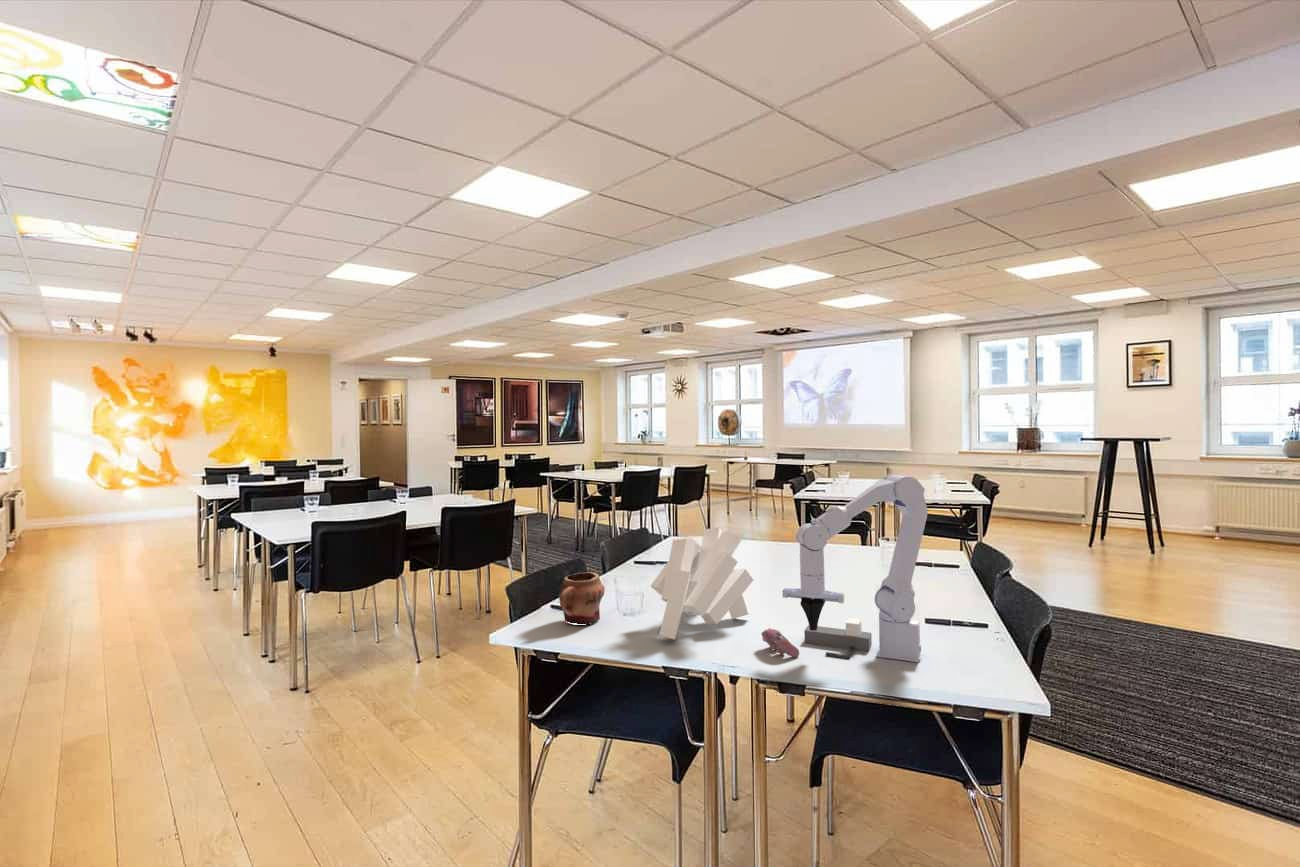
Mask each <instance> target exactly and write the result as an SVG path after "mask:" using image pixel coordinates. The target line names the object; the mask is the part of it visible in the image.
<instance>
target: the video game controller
mask: <svg viewBox="0 0 1300 867" xmlns="http://www.w3.org/2000/svg"><path fill="white" fill-rule="evenodd" d="M761 637H762V638H761V639H762V641H763V642H765V643H766V644H768V646H769V647H770V649H771V648H772V649H774V650H776V652H777V653H778V654H779V653H780V654H781V655H782V656H783V655H784V654H786V655H787V656H789V657H791V656H792V658H798V657H799V656H800V651H799V648H798V647H796V646H795V645H794V644H792V642H790V641H789V639H787V637H786V636H784V634H782V632H780V630H778V629H774V628H772V629H771V628H770V627H768V629H765V630H763V631H762V632H761ZM772 649H771V650H772ZM780 654H779V655H780ZM781 655H780V656H781ZM797 656H798V657H797Z"/></svg>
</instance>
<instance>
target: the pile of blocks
mask: <svg viewBox="0 0 1300 867" xmlns="http://www.w3.org/2000/svg"><path fill="white" fill-rule="evenodd" d="M741 540H742V539H740V538H739V537H738V536H737V535H736V534H735V533H733V532H732V531H724V532H723V531H722V529H721V528H720V527H713V528H706V529H703V534H702V540H701V546H700V545H699V543H698V542H697V541H695V539H693V538H690V537H689V538H679V539H673V540H672V543H671V549H670V554H669V558H668V560H667V562H666V564H665V565H664V566H663V567H662V569H661V570H660V572H659V573H658V575H657V576H656V578H655V579H654V580H653V581H652V583H651V585H650V587H651V588H652V589H653V590H654V591H656V593H658V595H660V596H661V598H660V599H661V600H662V601H663V602H666V604H665V605H666V606H665V609H664V613H663V614H664V615H663V617H662V618H663V619H662V623H661V625H660V630H659V633H658V634H659V636H661V637H664V638H667V639H672V640H676V639H675V638H677V635H678V630H679V627H680V626H679V625H680V621H681V617H682V614H685V615H686V616H688V617H689V616H690V617H693V616H701V618H702V619H703V621H704V622H705V623H706V624H709V625H718V624H719V622H721V620H722V619H723V618H724V617H725V615H727V613H728V612H729V614H730V618H731V620H734V619H738V618H740V617H744V616H747V615H750V614H751V611H750V608H749V604H748V602H747V598H746V595H745V593H744V592H745V591H746V590H747V589H748V587H749V586H750V585H751V584H752V583H753V581H754V579H753V577H752V576H751V575H750V573H749V572H748V570H747V569H746V568H743V569H742V568H736V566H737V564H738V560H736V559H735V558H734V557H733V554H734V553H735V551H736V549H737V548H738V546H739V545H740V543H741V542H742V541H741Z"/></svg>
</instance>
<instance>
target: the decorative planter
mask: <svg viewBox="0 0 1300 867" xmlns="http://www.w3.org/2000/svg"><path fill="white" fill-rule="evenodd" d="M604 595H605V585H604V583H603V582H602V581H601V578H600V575H599V574H598V573H596V572H591V571H589V572H577V573H574V574H569V575H566V576H565V577H564V579H563V582H562V585H561V587H560V590H559V595H558V598H559V606H560V608H561V610H562V612H563V617H564V621H565V622H566V621H567V622H570V623H577V624H590V623H593V622H595V623H597V622H598V621H599V620H601V616H600V615H601V613H600V604H601V601H602V599H603V598H604ZM596 621H597V622H596ZM593 624H594V623H593ZM590 625H591V624H590Z"/></svg>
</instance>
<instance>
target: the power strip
mask: <svg viewBox="0 0 1300 867" xmlns="http://www.w3.org/2000/svg"><path fill="white" fill-rule="evenodd" d="M803 633H804V643H805V642H808V643H807V644H810V643H815V644H814V645H817V644H821V645H820V646H825V645H828V647H832V646H835V648H840V647H842V649H847V648H849V650H848V652H847V654H842V653H834V652H825V655H826V656H827V657H833V656H834V658H841V659H846V660H847V659H848V658H849V659H850V658H851V656H852V653H853V651H854V649H856V651H862V650H863V652H870V650H871V648H872V641H873V640H872V632H870V631H868V632H867V631H862V619H859V618H852V617H848V618H847V620H846V621H845V629H844V628H835V627H827V626H820V625H818V626H817V630H816V631H813V630H810V627H809V624H808V625H807V626H806V628H805V629H804V632H803Z"/></svg>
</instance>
